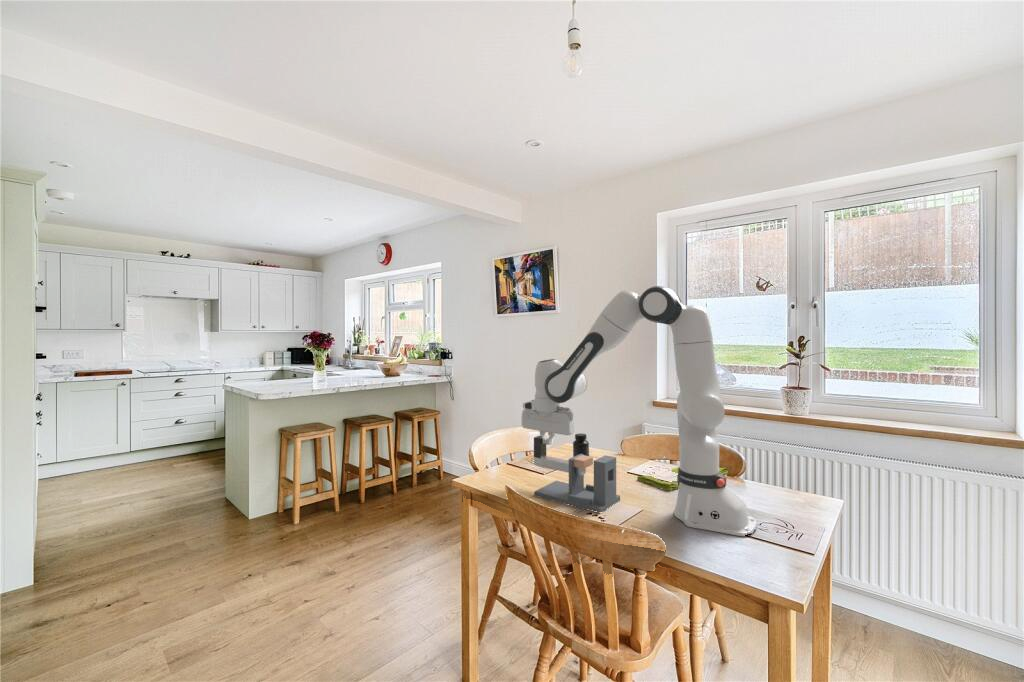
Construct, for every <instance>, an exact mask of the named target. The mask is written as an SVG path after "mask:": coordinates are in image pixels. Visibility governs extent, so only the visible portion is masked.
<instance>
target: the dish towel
mask: <svg viewBox="0 0 1024 682" xmlns="http://www.w3.org/2000/svg"><path fill="white" fill-rule="evenodd" d="M679 467H680V466H678V467H675V468H671V469H672V470H671V469H670V470H671V471H672V472H675V473H678V468H679ZM719 471H720V472H721V473H722V474H723V475H724V476H725V475H726V474H727V475H729V471H728V467H723V468H722V467H719ZM639 480H640V481H639ZM637 481H639V482H641V481H642V483H644V482H645V483H644V484H647V485H649V484H650V486H652V485H653V487H655V486H656V487H655V488H657V487H659V488H658V489H660V488H662V489H661V490H663V489H664V491H666V490H667V491H666V492H669V491H670V492H669V493H671V491H672V492H674V490H676V491H678V489H679V486H678V480H677V481H672V482H666V481H661V480H658V479H656V478H654V477H652V476H647V475H644V476H642V475H638V476H637Z"/></svg>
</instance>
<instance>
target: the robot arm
mask: <svg viewBox="0 0 1024 682" xmlns="http://www.w3.org/2000/svg"><path fill="white" fill-rule="evenodd" d="M643 319H646V320H648V321H650V322H653V323H655V324H656V323H657V324H664V325H668V326H669V327H670V328H671V332H672V340H673V350H674V361H675V370H676V374H677V375H676V376H677V379H678V380H677V381H678V385H679V386H678V387H679V391H680V392H679V393H678V395H677V399H676V408H677V409H676V412H677V415H676V416H677V429H678V438H679V439H678V440H679V466H678V467H679V468H678V467H677V468H678V475H677V480H678V486H679V490H677V498H676V503H675V507H674V510H673V515H674V516H675V518H677V519H679V520H680V521H682V522H683V523H684V525H685V526H686V527H689V528H693V529H694V528H695V529H700V530H705V531H711V532H716V533H722V534H728V535H733V536H738V537H746V536H745V535H747V534H749V533H750V532H752V531H754V530H755V528H756V526H757V527H758V524H757V520H756V518H754V517H753V516H750V515H749V512H748V507H747V504H746V502H745V500H744V499H743V498H742V497H740V496H739V495H738V494H736V493H735V492H734V491H733V490H732V489H731V488H729V486H728V485H727V477H728V474H726V475H723V474H722V473H721V472H720V471H719V468H720V443H719V439H718V433H717V427H718V426H720V425H721V423H722V422H723V421H724V419H725V415H726V413H725V412H726V411H725V407H724V402H723V396H722V391H721V385H720V381H719V376H718V373H717V367H716V360H715V359H716V357H715V350H714V348H715V347H714V341H713V339H714V338H713V332H712V327H711V323H710V318H709V316H708V313H707V311H706V309H704V308H703V307H702V306H698V305H695V304H693V305H692V304H691V305H686V304H685V305H684V304H683V303H682V301H681V298H680V296H679V295H678V294H677V293H676V292H675V291H673V289H671V288H669V287H666V286H661V285H656V286H655V285H654V286H652V287H649V288H647V289H646V290H645V291H644V292H643V293H642V294H641V295H640V294H638V293H636V292H635V291H631V290H628V289H626V290H621V291H620V292H618V293H617V294H616V295H615V296H614V297H613V298H612V299H611V300H610V301H609V302H608V303H607V305H605V307H604V308H603V310H602V311H601V313H600V314H599V315H598V317H597V318H596V319H595V322H594V323H593V324H592V326H591V328H590V329H589V331H588V332H587V334H586V335H585V336H584V338H583V340H582V341H581V342H580V343H579V345H577V347H576V348H575V349H574V350H573V351H572V354H570V356H569V357H568V358H567V360H566V361H565V362H564V363H561V362H560V360H558V359H555V358H551V359H545V360H541V361H539V362H537V364H536V367H535V371H534V372H535V373H534V387H535V392H534V393H535V394H534V399H532V400H530V401H526V402H523V403H522V408H523V410H522V413H521V426H522V429H527V430H532V431H538V432H539V436H541V437H542V439H543V444H546V446H547V445H548V446H551V445H553V442H552V441H553V439H554V437H555V435H556V434H558V435H563V436H571V435H572V434H574V432H575V421H574V412H573V410H572V409H570V408H569V407H565V406H564V407H563V406H561V404H563V403H566V402H568V401H569V400H571V399H574V398H576V397H580V396H581V395H583V393H584V392H586V390H587V387H588V379H587V376H585V374H584V371H585V370H586V369H587V368H588V366H589V365H590V364H591V363H592V362H593V361H594V360H595V359H596V358H597V357H599V356H600V355H602V354H604V353H605V352H608V351H610V350H612V349H614V348H617V346H619V345H620V344H621V342H623V341H624V340H625V339H626V337H627V336H628V335H629V334H630V332H631V331H632V330H633V329H634V327H636V324H637V323H638V322H639V321H641V320H643ZM546 433H547V435H548V437H547V435H546ZM756 529H757V528H756ZM755 531H756V530H755Z"/></svg>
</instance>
